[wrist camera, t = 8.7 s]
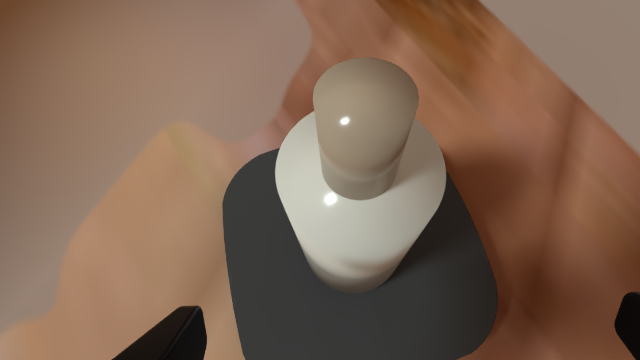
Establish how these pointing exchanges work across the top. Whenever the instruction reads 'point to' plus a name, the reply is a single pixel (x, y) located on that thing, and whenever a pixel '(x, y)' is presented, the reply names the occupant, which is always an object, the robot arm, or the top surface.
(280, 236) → the media streaming box
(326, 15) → the top surface
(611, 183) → the top surface
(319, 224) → the bottle
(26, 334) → the top surface
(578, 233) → the top surface
